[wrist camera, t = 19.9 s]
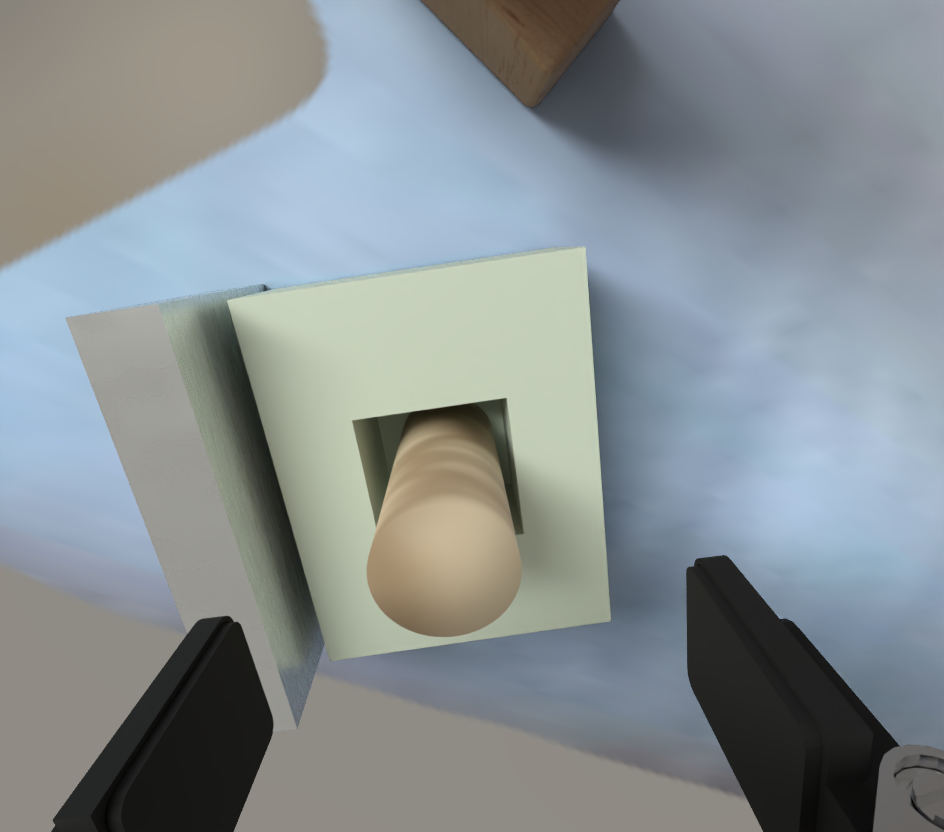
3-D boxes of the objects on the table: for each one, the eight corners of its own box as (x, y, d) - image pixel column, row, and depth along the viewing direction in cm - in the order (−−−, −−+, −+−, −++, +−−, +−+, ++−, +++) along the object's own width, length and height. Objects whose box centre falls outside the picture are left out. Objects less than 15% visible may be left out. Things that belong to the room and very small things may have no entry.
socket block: (555, 247, 21) (585, 246, 16) (581, 551, 26) (611, 621, 21) (277, 288, 21) (226, 300, 16) (352, 584, 26) (329, 660, 21)
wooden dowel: (486, 388, 22) (512, 493, 13) (498, 472, 23) (529, 625, 14) (394, 401, 22) (351, 516, 13) (411, 485, 23) (383, 646, 14)
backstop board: (263, 283, 21) (157, 303, 14) (342, 587, 26) (297, 728, 18) (203, 292, 21) (65, 318, 14) (293, 594, 26) (227, 738, 18)
